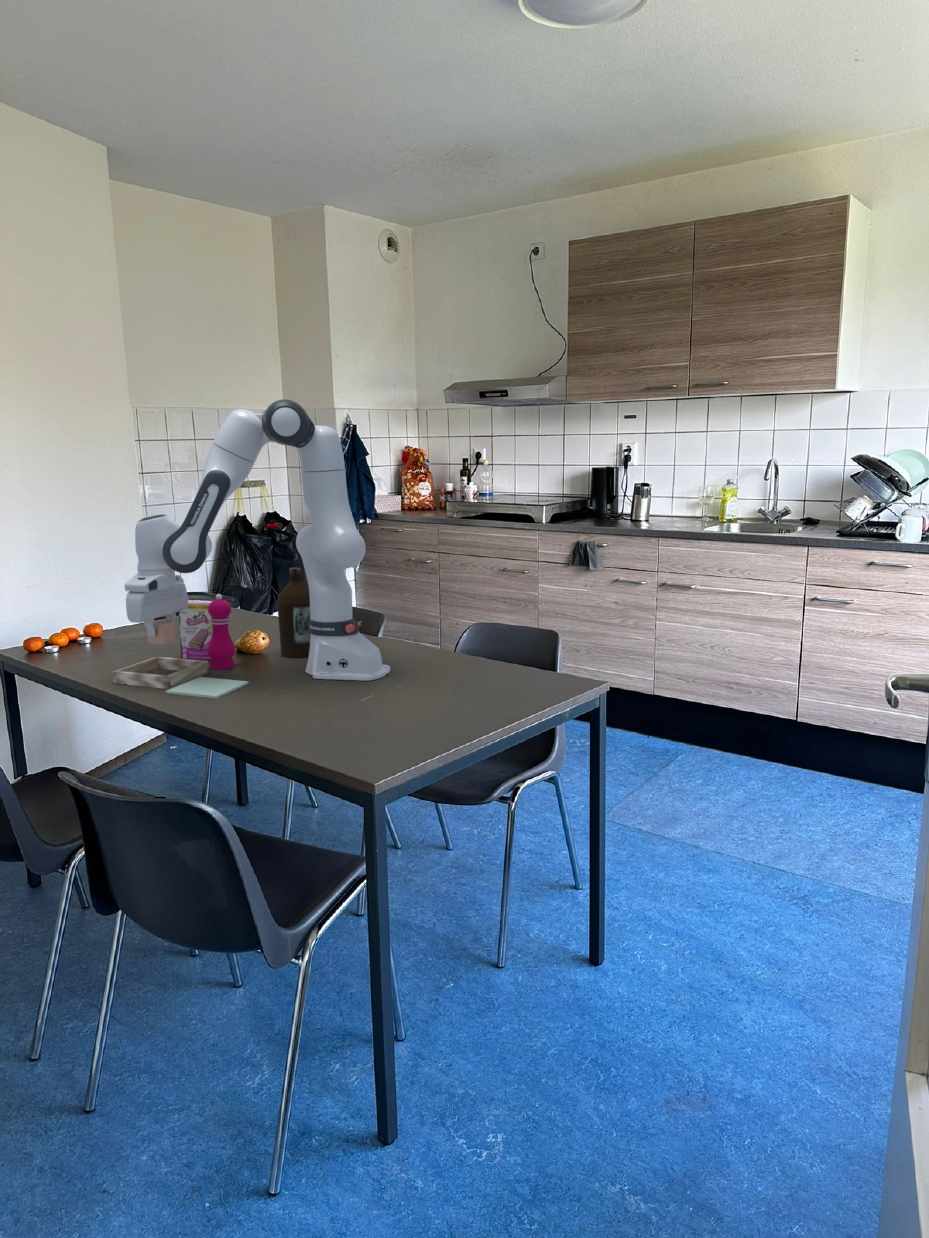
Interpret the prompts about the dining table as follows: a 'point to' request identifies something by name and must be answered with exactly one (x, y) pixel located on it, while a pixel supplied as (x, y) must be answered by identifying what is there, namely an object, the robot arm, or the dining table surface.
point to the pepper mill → (220, 635)
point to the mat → (207, 687)
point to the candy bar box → (195, 631)
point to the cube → (163, 632)
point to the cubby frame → (139, 678)
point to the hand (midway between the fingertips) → (161, 633)
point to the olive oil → (294, 617)
